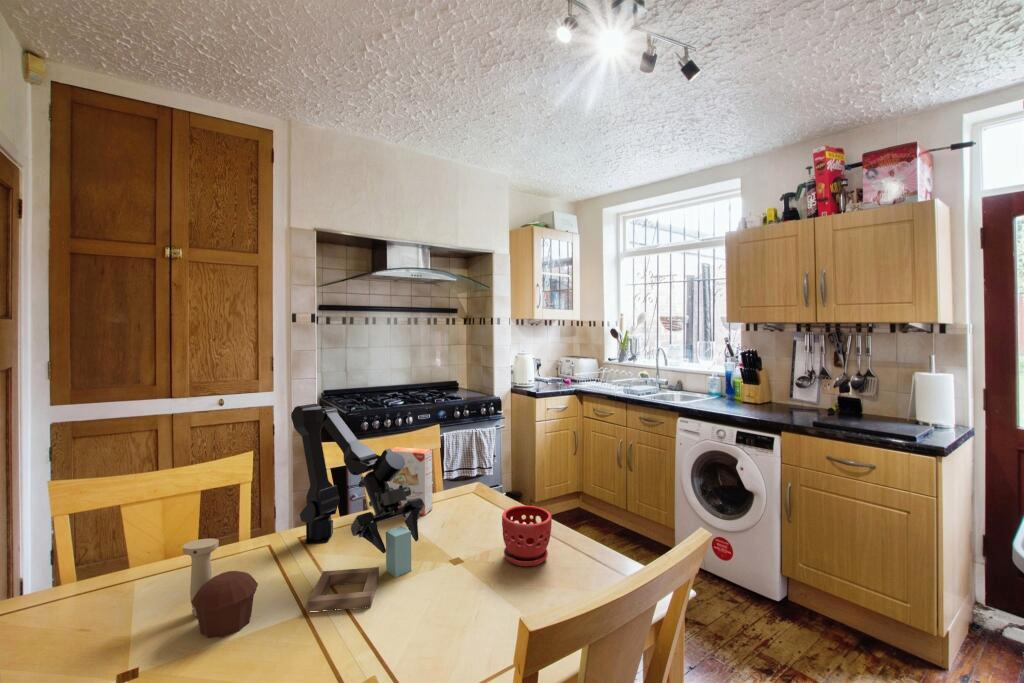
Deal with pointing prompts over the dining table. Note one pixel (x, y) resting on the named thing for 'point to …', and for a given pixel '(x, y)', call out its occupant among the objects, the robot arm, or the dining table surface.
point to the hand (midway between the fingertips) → (401, 546)
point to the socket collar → (346, 600)
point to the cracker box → (415, 475)
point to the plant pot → (526, 535)
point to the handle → (200, 563)
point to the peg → (398, 551)
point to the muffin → (225, 603)
